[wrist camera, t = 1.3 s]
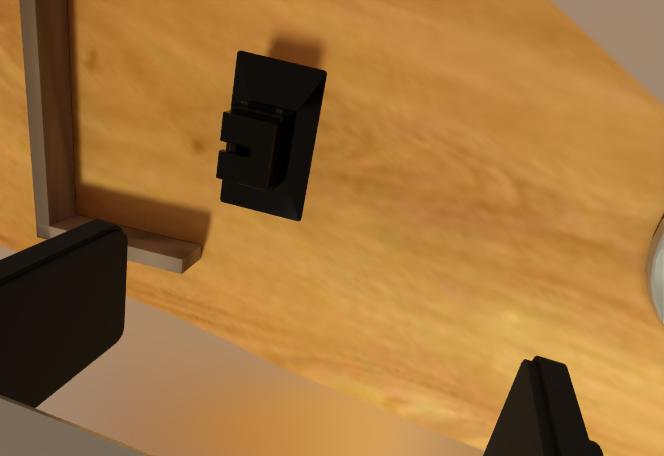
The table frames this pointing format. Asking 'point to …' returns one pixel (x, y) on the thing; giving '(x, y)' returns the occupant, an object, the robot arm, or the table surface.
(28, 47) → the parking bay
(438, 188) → the table surface
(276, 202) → the build plate
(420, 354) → the table surface
